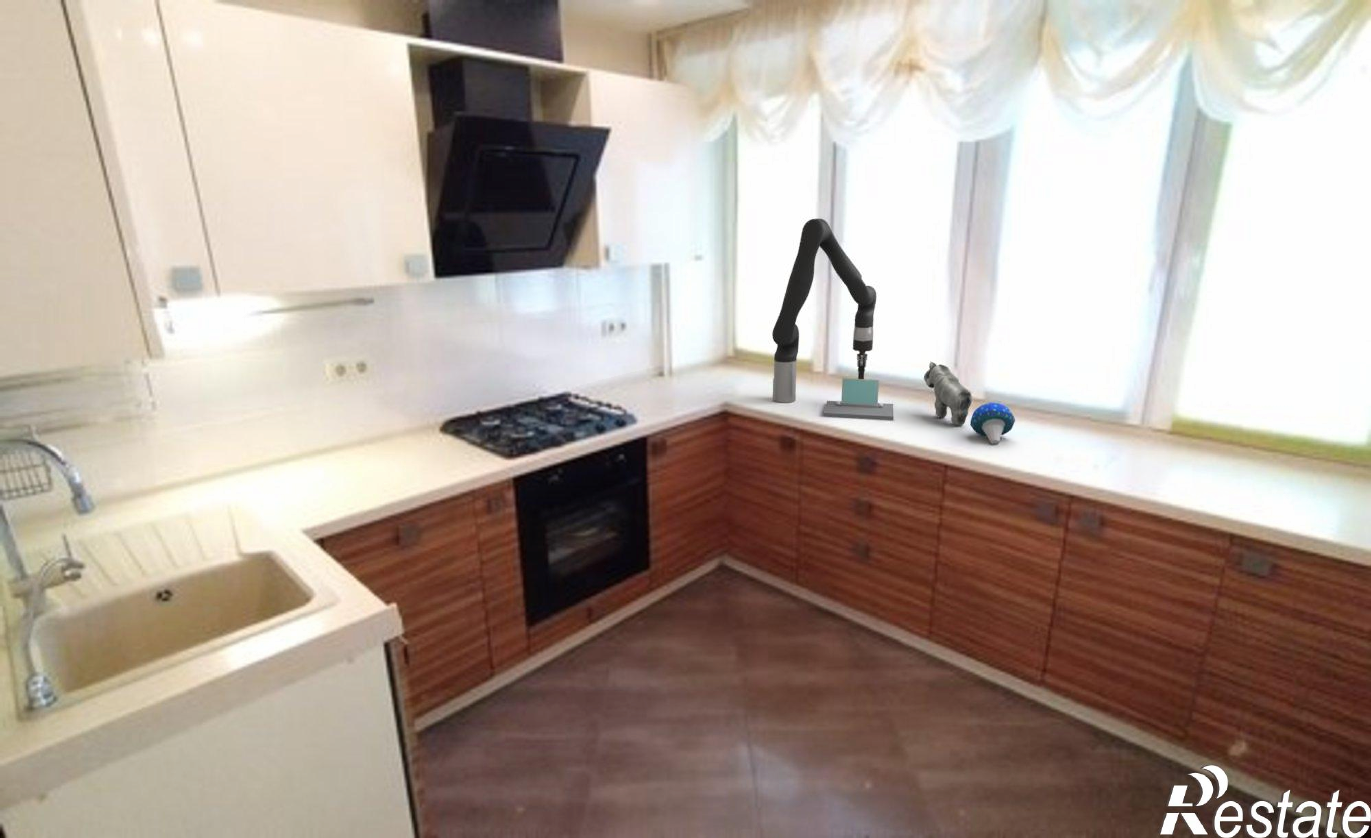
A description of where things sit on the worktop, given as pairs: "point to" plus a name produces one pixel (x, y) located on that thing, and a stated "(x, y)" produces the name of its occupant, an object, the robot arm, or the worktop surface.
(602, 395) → the worktop surface
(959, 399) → the grey animal figure
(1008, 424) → the mushroom
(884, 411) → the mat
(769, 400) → the worktop surface
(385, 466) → the worktop surface
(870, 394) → the tile
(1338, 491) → the worktop surface
